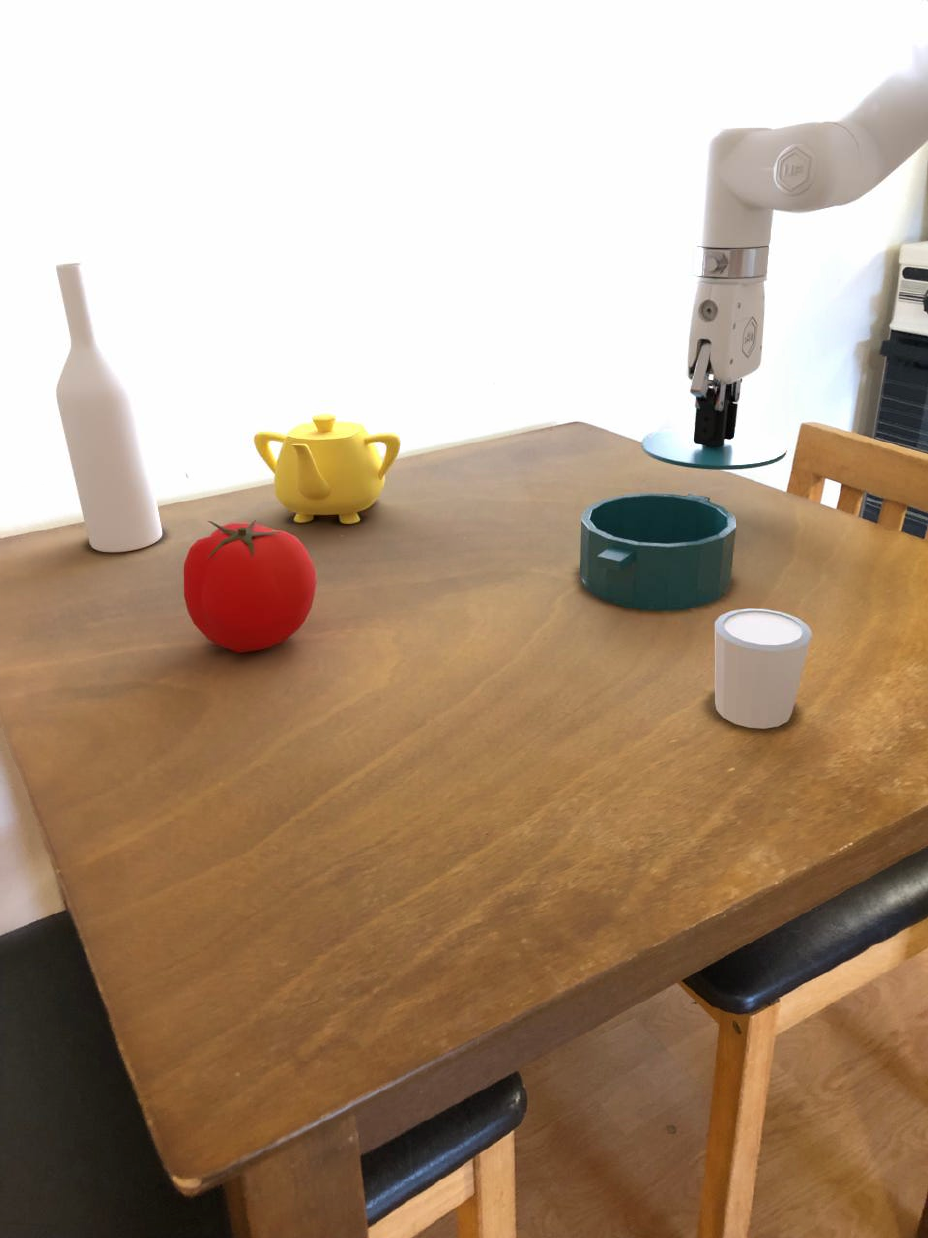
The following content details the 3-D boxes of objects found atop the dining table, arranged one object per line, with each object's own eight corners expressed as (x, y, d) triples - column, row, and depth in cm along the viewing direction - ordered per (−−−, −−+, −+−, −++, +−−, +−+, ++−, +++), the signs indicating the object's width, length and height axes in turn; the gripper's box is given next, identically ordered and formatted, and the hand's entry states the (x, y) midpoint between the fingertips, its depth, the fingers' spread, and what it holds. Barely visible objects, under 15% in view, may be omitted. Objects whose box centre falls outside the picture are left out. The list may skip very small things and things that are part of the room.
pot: (761, 560, 97) (768, 501, 94) (679, 636, 82) (684, 568, 79) (634, 534, 105) (637, 478, 102) (539, 598, 90) (539, 535, 87)
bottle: (145, 553, 104) (87, 267, 91) (77, 552, 105) (10, 269, 92) (174, 527, 111) (124, 259, 98) (109, 526, 112) (52, 261, 99)
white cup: (797, 740, 67) (810, 655, 64) (701, 724, 70) (708, 641, 67) (802, 693, 73) (814, 613, 70) (712, 680, 75) (720, 602, 72)
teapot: (251, 512, 115) (238, 417, 110) (351, 486, 123) (342, 396, 118) (306, 543, 105) (294, 440, 100) (410, 513, 113) (404, 416, 108)
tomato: (195, 619, 88) (175, 508, 84) (316, 604, 91) (304, 495, 86) (191, 681, 78) (168, 558, 73) (328, 662, 80) (315, 541, 75)
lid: (805, 446, 105) (813, 392, 103) (754, 484, 94) (761, 424, 91) (677, 427, 114) (680, 377, 111) (616, 460, 103) (619, 405, 100)
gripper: (735, 275, 87) (717, 465, 96) (793, 257, 99) (772, 429, 107) (661, 271, 91) (650, 454, 100) (726, 255, 103) (710, 420, 111)
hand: (713, 439), depth 103 cm, fingers closed on lid, 2 cm apart
